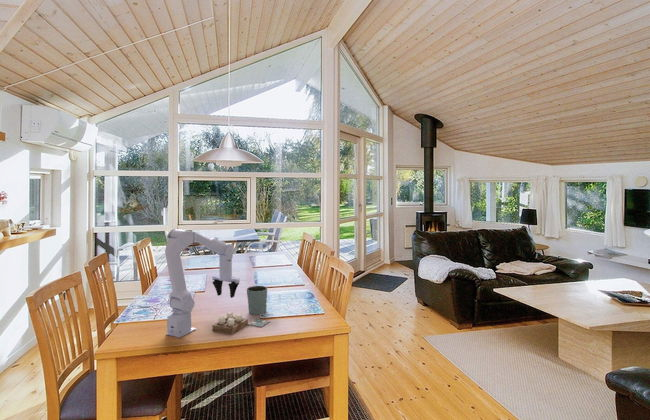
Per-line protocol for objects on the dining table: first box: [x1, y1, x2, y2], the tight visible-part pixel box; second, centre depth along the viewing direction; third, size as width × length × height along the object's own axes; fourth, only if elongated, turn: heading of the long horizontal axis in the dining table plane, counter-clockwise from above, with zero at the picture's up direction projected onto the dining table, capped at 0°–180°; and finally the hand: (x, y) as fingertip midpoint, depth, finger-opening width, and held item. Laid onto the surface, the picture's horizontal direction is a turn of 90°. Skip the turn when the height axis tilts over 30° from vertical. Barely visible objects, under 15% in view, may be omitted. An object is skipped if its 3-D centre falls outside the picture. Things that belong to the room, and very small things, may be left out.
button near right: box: [228, 318, 234, 327], centre depth 155 cm, size 3×3×3 cm
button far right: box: [235, 313, 243, 323], centre depth 160 cm, size 3×3×3 cm
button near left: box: [218, 316, 226, 325], centre depth 157 cm, size 3×3×3 cm
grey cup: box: [246, 285, 268, 316], centre depth 178 cm, size 10×10×12 cm
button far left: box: [226, 311, 234, 320], centre depth 162 cm, size 3×3×3 cm
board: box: [211, 315, 249, 335], centre depth 159 cm, size 12×10×2 cm
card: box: [247, 318, 271, 328], centre depth 164 cm, size 7×7×1 cm
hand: (225, 296), depth 173 cm, fingers open, 7 cm apart
